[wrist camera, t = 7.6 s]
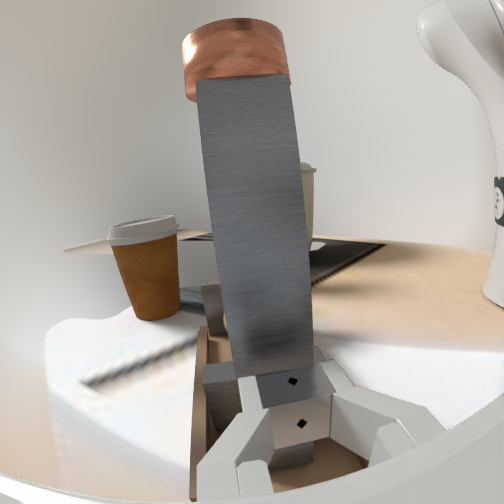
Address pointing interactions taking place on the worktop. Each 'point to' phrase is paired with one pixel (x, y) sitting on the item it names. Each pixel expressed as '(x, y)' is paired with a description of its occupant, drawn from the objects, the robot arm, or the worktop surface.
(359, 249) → the worktop surface
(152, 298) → the disposable coffee cup
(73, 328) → the worktop surface
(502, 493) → the robot arm
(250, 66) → the slider
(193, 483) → the cracker bench
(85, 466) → the worktop surface
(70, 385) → the worktop surface
